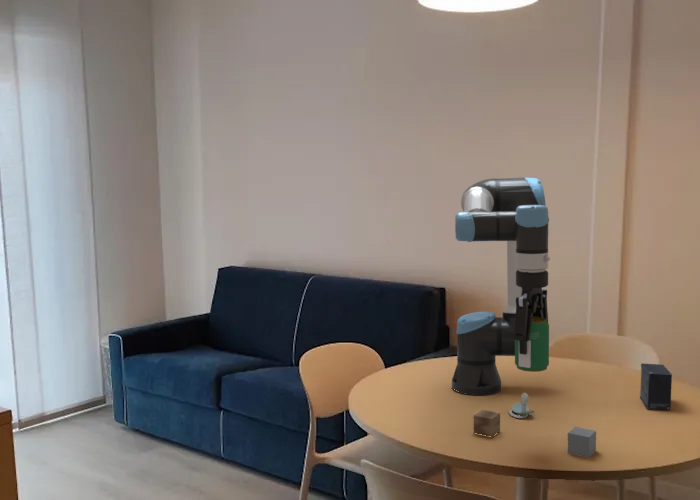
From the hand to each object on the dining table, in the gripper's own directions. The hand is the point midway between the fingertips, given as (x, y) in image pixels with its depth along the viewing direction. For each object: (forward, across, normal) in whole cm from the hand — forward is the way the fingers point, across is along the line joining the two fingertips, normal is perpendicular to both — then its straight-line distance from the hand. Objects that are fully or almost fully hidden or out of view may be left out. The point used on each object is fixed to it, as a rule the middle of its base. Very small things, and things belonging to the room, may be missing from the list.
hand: (531, 362), depth 169 cm
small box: (+21, +45, -18) cm, 53 cm away
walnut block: (+20, 0, +12) cm, 24 cm away
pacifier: (+21, +16, +10) cm, 28 cm away
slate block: (+20, +1, -12) cm, 24 cm away
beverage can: (+1, 0, 0) cm, 1 cm away
